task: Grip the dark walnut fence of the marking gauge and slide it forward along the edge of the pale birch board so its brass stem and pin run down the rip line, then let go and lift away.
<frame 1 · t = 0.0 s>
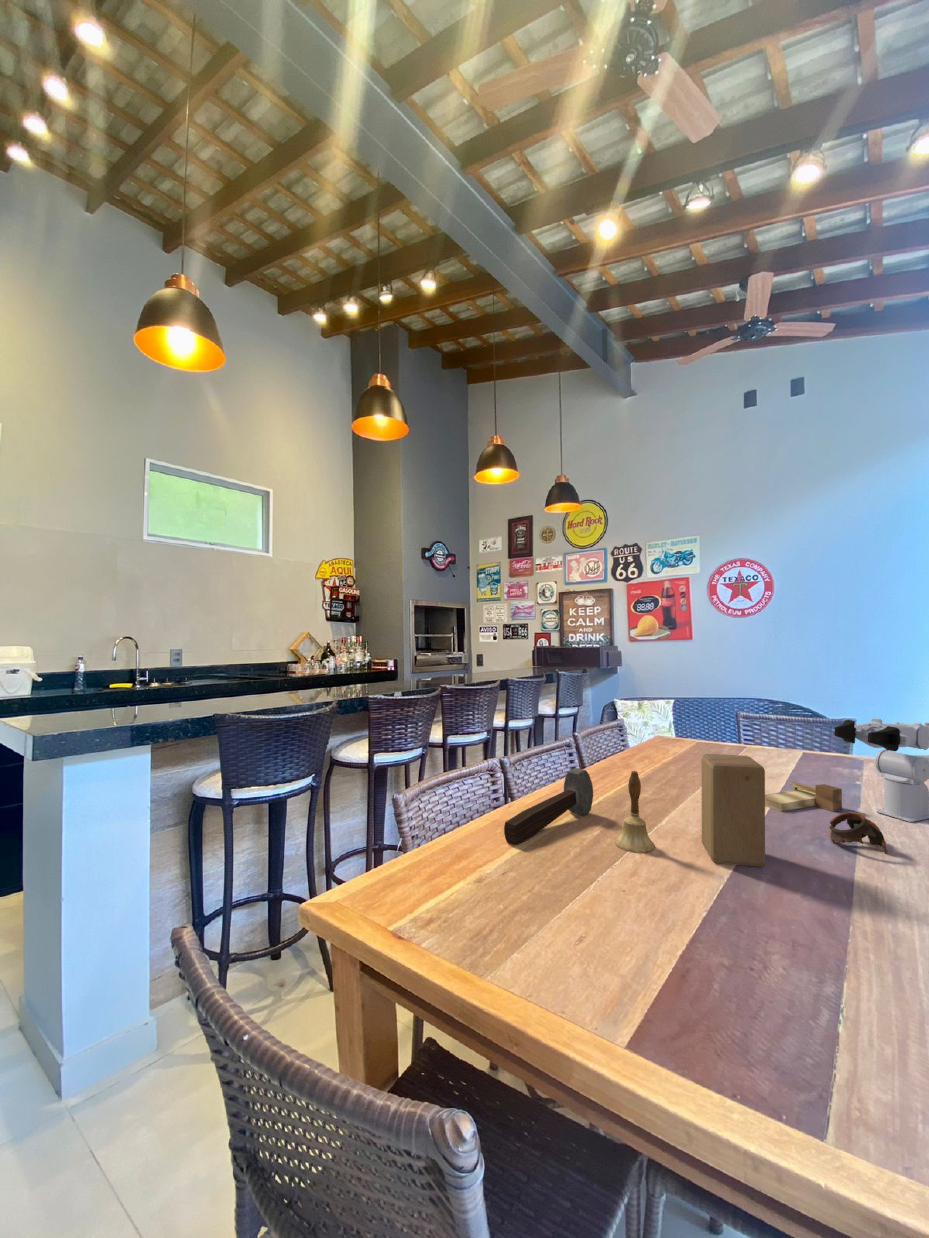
hand: (852, 734, 128), 22 cm above the table, tool horizontal, fingers open, 7 cm apart
wooden block: (732, 857, 111), on the table
hammer: (550, 827, 127), on the table
broken clay pot: (858, 847, 116), on the table
hand bell: (634, 845, 116), on the table
gauge: (814, 793, 144), point 3 cm above the table, slide at 0.0 cm
board: (792, 803, 144), on the table
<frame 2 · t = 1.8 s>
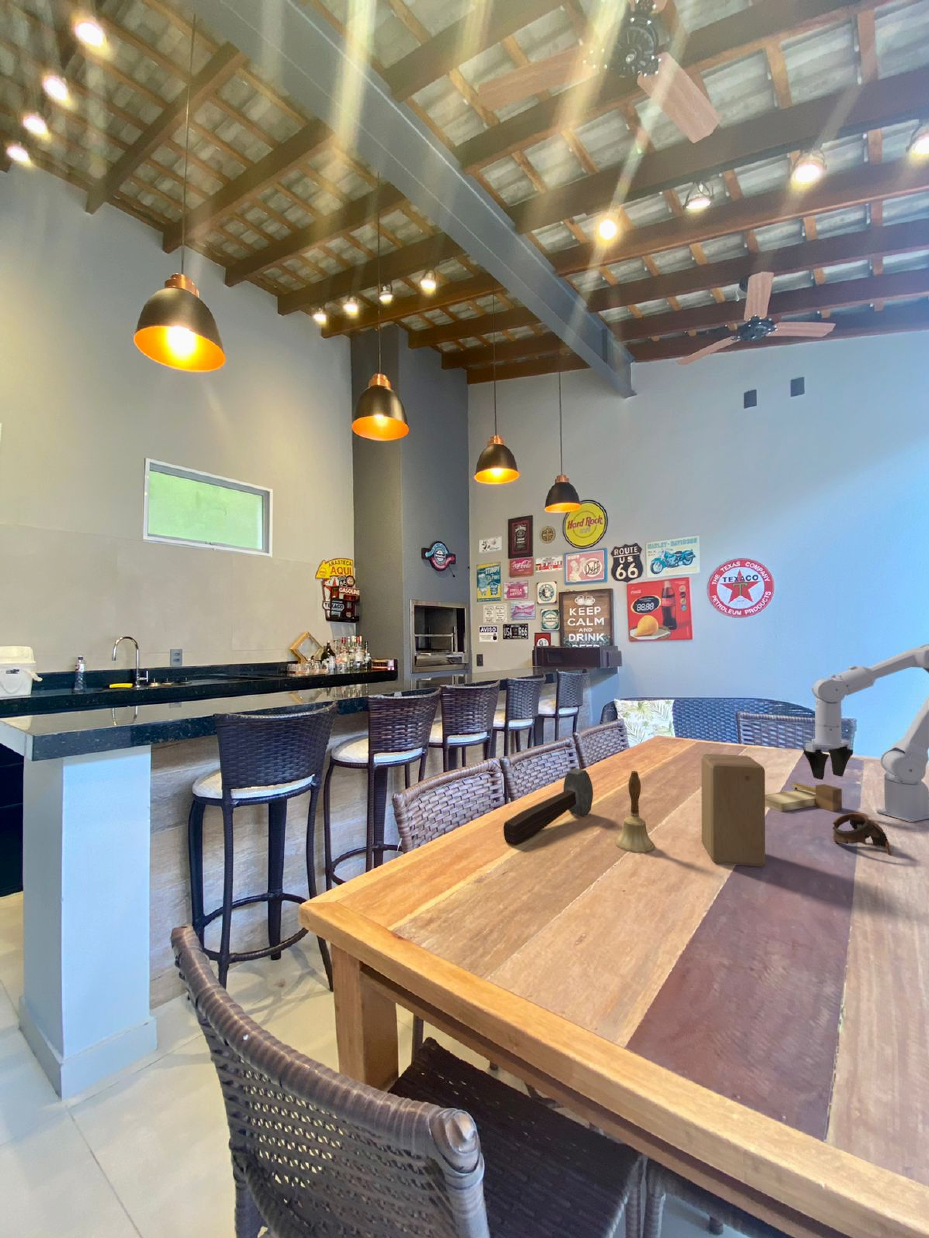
hand: (828, 777, 140), 8 cm above the table, tool pointing down, fingers open, 7 cm apart
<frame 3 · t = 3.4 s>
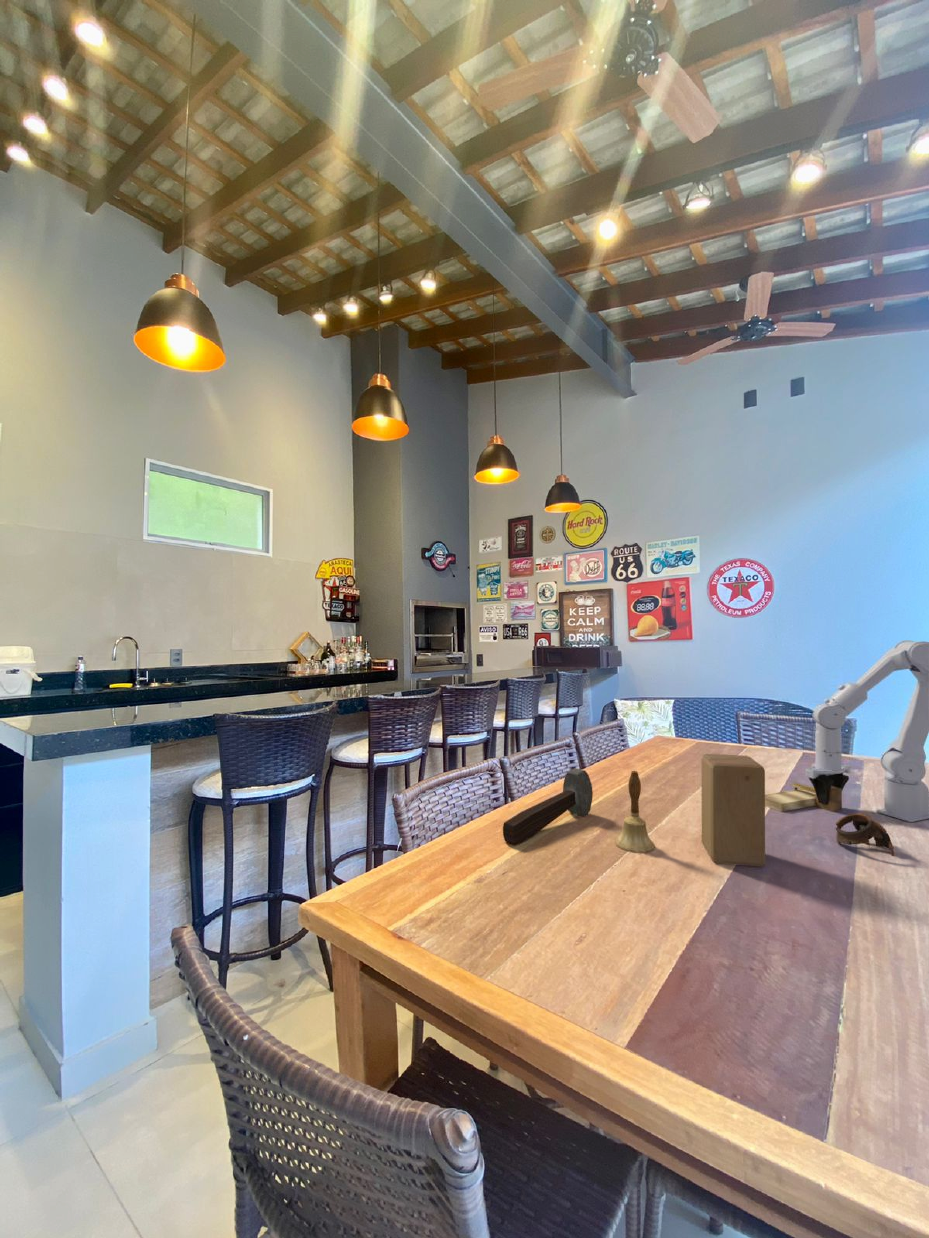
hand: (828, 802, 140), 1 cm above the table, tool pointing down, fingers closed on gauge, 3 cm apart
gauge: (814, 793, 144), point 3 cm above the table, slide at 0.0 cm, touching gripper
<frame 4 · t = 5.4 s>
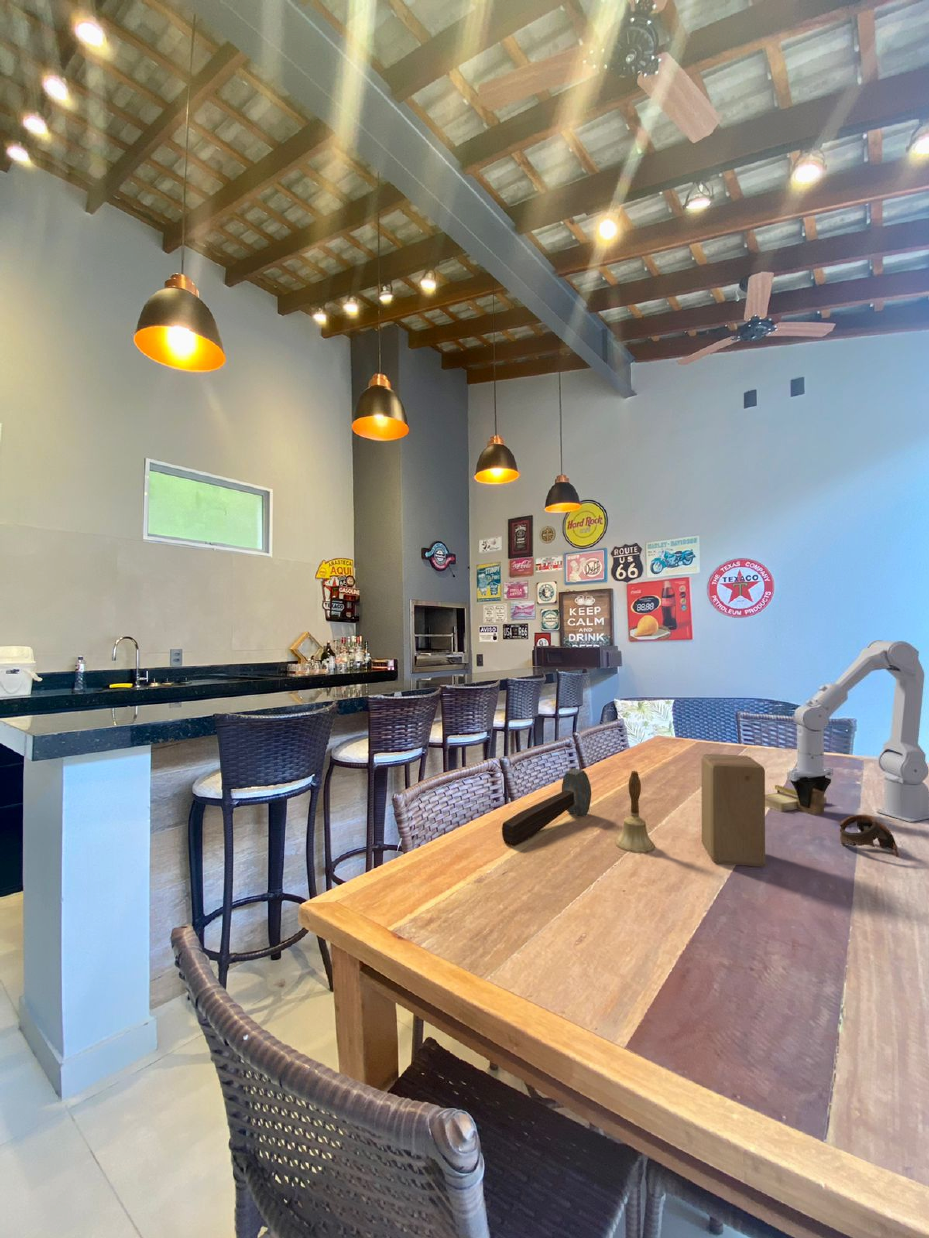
hand: (810, 805, 138), 1 cm above the table, tool pointing down, fingers closed on gauge, 3 cm apart
gauge: (796, 796, 141), point 3 cm above the table, slide at 6.8 cm, touching gripper
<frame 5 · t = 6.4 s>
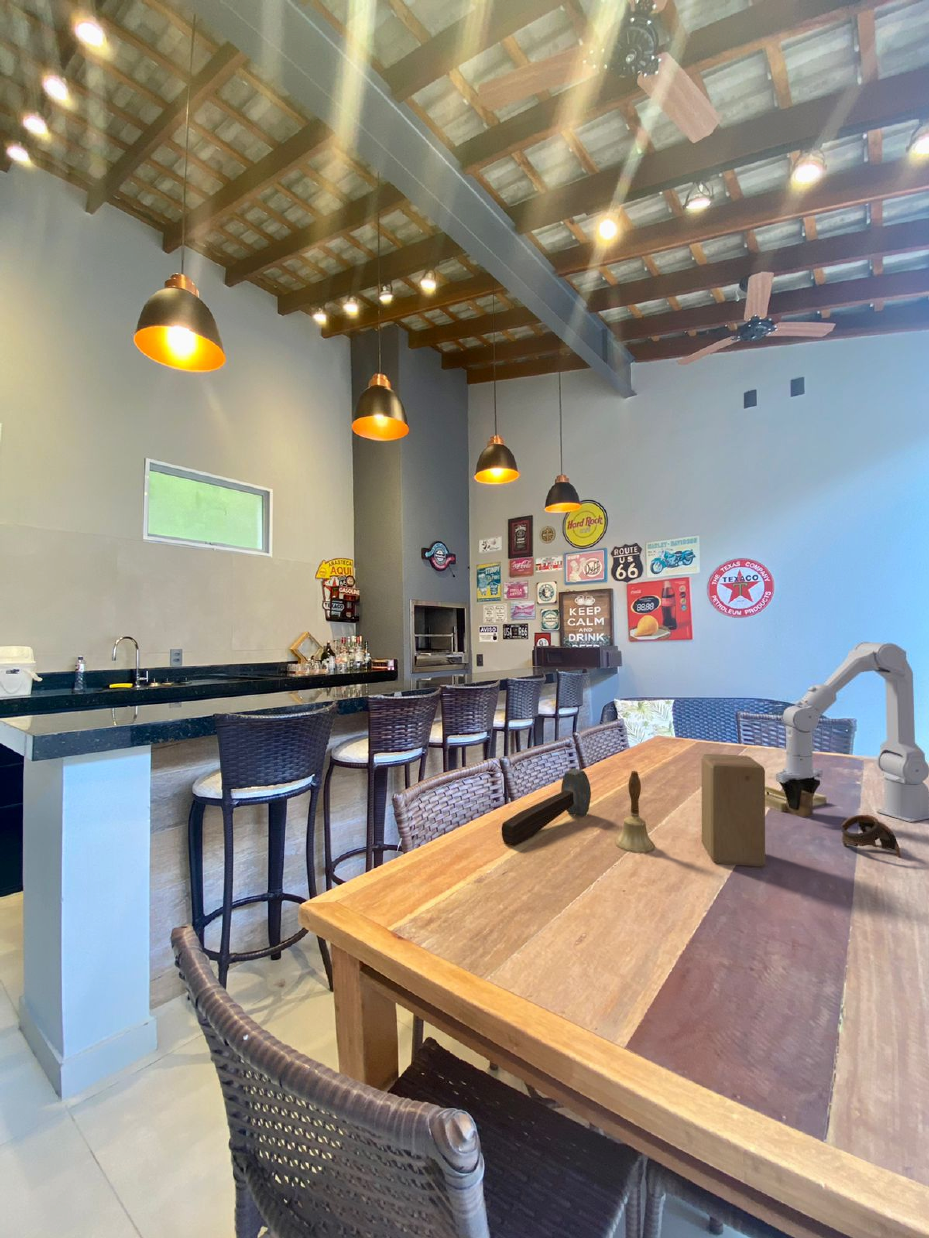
hand: (799, 807, 136), 1 cm above the table, tool pointing down, fingers closed on gauge, 3 cm apart
gauge: (785, 798, 140), point 3 cm above the table, slide at 10.9 cm, touching gripper
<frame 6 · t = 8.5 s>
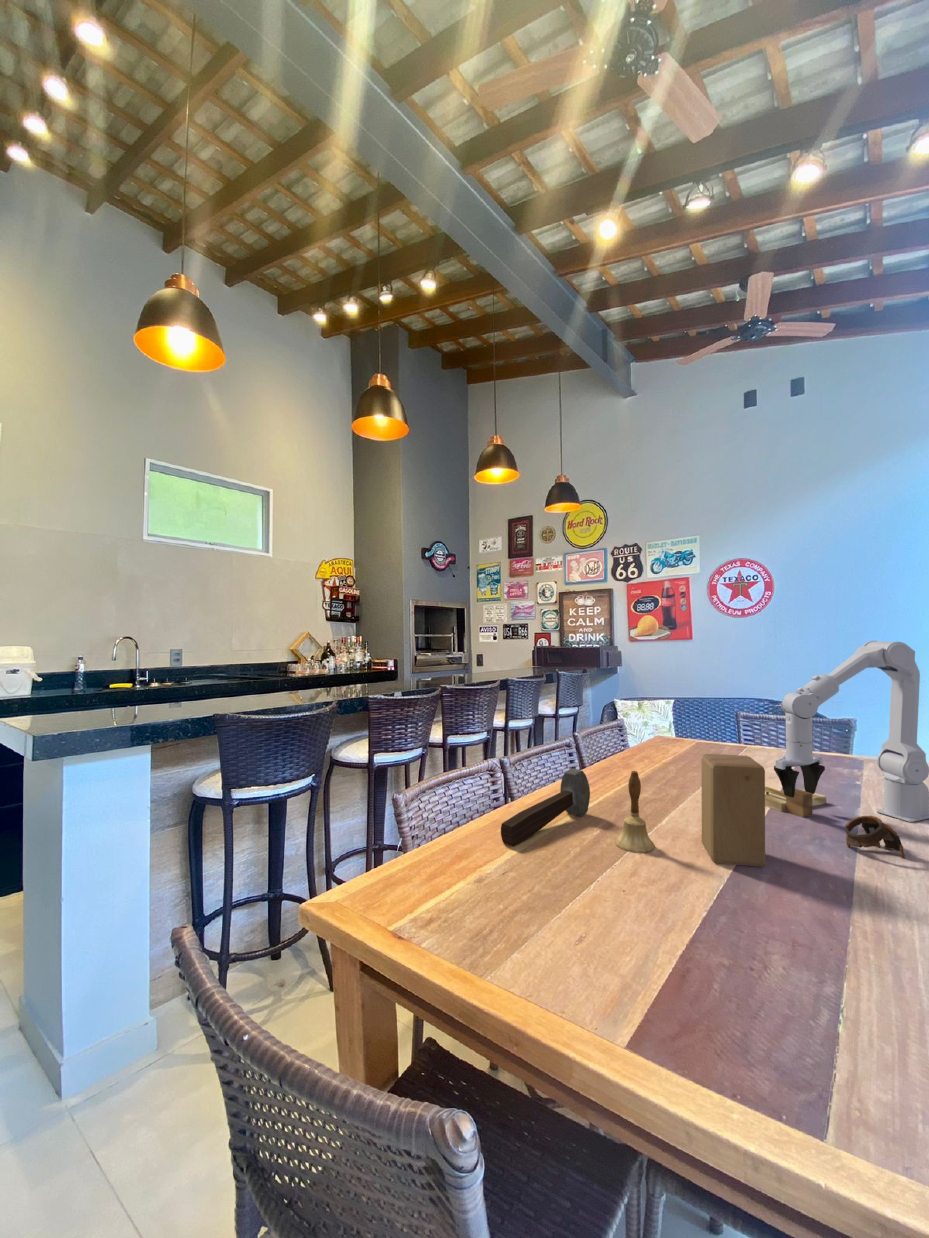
hand: (799, 794, 136), 5 cm above the table, tool pointing down, fingers open, 7 cm apart
gauge: (785, 798, 140), point 3 cm above the table, slide at 11.0 cm
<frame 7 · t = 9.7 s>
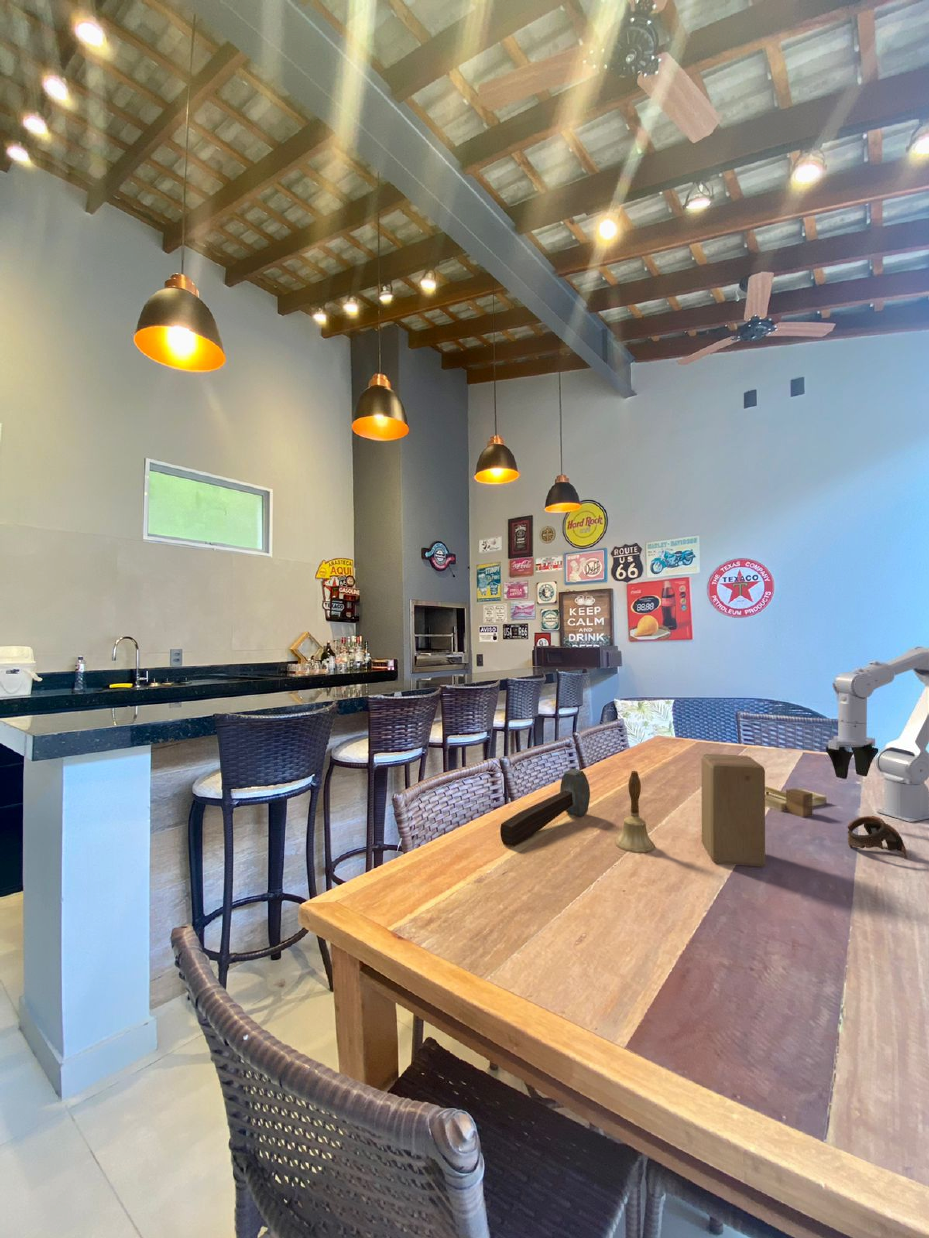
hand: (851, 776, 133), 10 cm above the table, tool pointing down, fingers open, 7 cm apart
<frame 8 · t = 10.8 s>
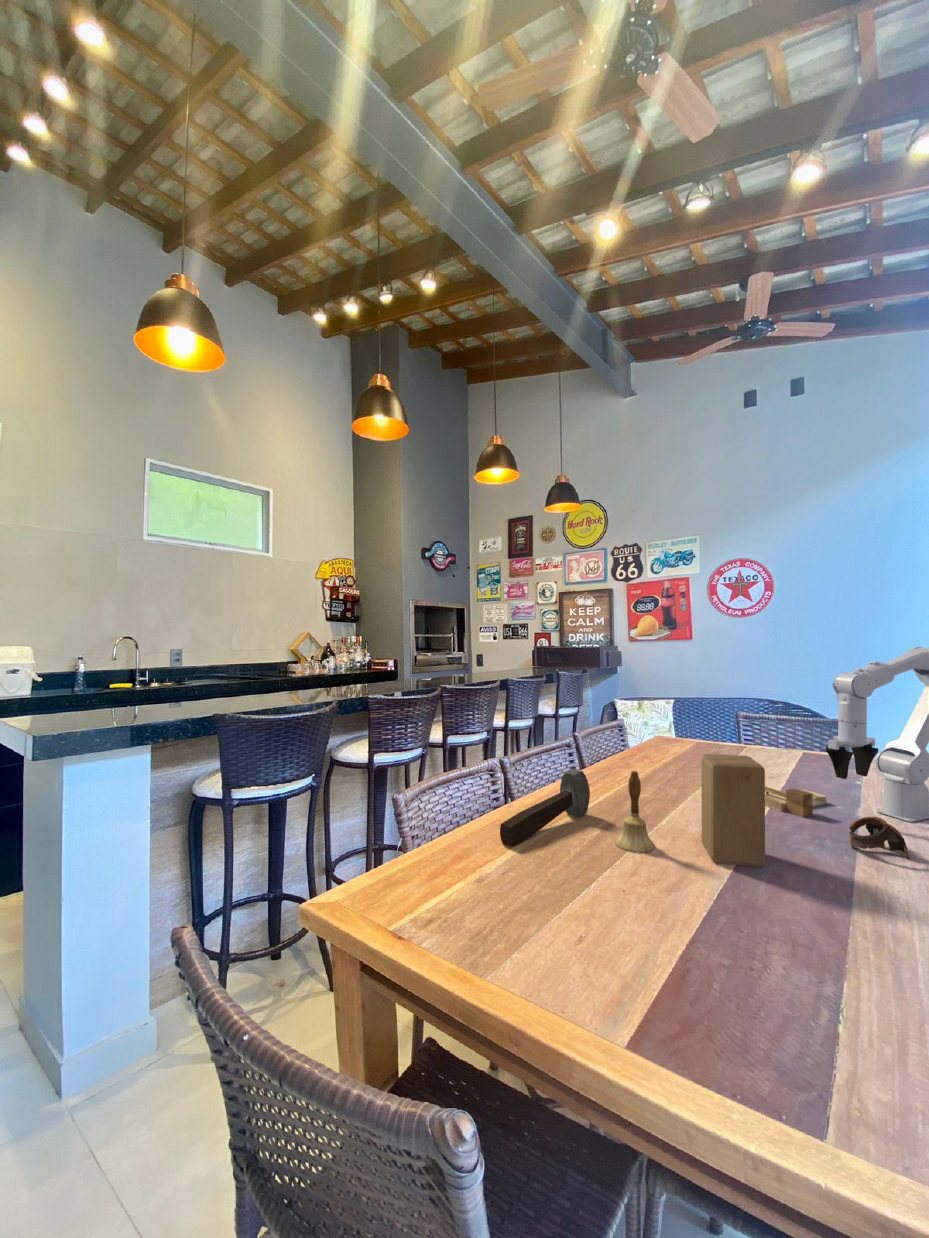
hand: (851, 776, 133), 10 cm above the table, tool pointing down, fingers open, 7 cm apart
at the end: gauge slide at 11.0 cm; the gripper is holding nothing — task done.
